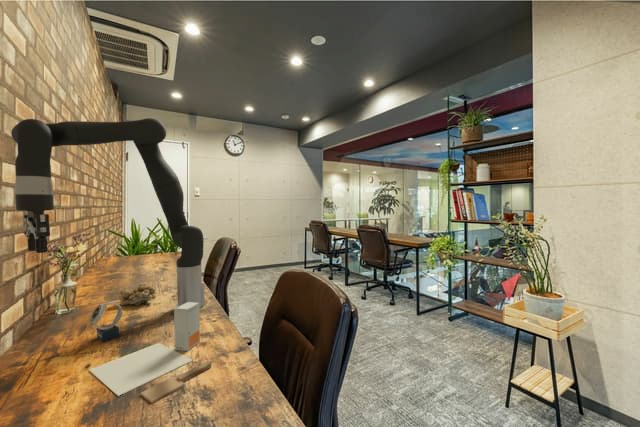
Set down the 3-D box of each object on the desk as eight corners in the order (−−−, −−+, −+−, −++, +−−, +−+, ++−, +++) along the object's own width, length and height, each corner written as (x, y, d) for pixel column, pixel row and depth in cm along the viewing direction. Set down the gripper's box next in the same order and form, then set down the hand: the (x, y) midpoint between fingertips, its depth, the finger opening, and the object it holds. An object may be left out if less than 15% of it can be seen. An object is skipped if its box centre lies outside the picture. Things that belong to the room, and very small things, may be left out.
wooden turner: (203, 362, 74) (203, 359, 74) (215, 368, 71) (215, 364, 71) (141, 395, 62) (140, 391, 62) (152, 404, 59) (151, 399, 59)
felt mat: (158, 343, 86) (158, 342, 86) (192, 360, 76) (192, 360, 76) (88, 370, 72) (88, 369, 72) (118, 396, 62) (118, 395, 62)
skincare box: (187, 351, 81) (186, 309, 80) (174, 350, 81) (173, 308, 81) (200, 341, 87) (199, 302, 86) (188, 340, 87) (187, 301, 87)
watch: (89, 340, 89) (87, 305, 89) (119, 331, 95) (118, 298, 95) (94, 345, 86) (93, 308, 85) (125, 335, 92) (124, 301, 92)
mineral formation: (148, 296, 134) (165, 299, 126) (116, 309, 123) (133, 313, 114) (144, 279, 133) (161, 281, 125) (111, 292, 122) (128, 295, 113)
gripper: (60, 192, 79) (63, 251, 79) (45, 194, 87) (48, 248, 87) (21, 192, 73) (24, 255, 73) (9, 194, 81) (12, 251, 81)
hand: (37, 251), depth 80 cm, fingers open, 8 cm apart
